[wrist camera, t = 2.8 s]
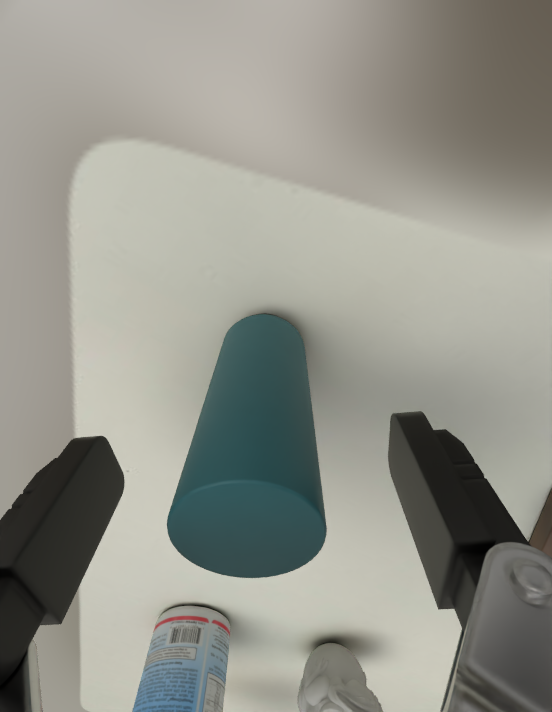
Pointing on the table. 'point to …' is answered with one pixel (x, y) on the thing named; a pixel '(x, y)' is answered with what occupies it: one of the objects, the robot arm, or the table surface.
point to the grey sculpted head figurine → (335, 683)
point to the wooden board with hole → (544, 530)
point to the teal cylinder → (253, 460)
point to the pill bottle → (185, 662)
